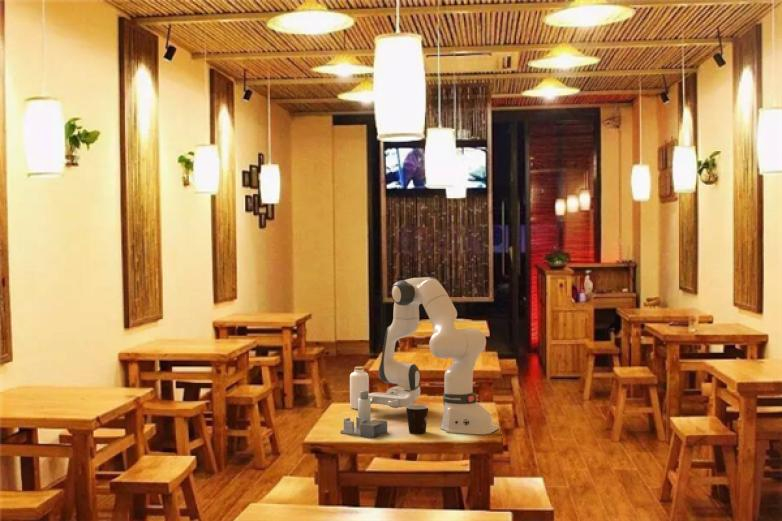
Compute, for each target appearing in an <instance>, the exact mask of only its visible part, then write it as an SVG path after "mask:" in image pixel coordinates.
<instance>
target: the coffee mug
mask: <svg viewBox="0 0 782 521" xmlns="http://www.w3.org/2000/svg"><path fill="white" fill-rule="evenodd" d="M405 408H406V410H405V411H406V417H407V418H406V419H407V425H408V433H409V434H410V435H425V434H426V433H427V425H428V412H429V406H428V405H425V404H414V405H409V406H406V407H405Z"/></svg>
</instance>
